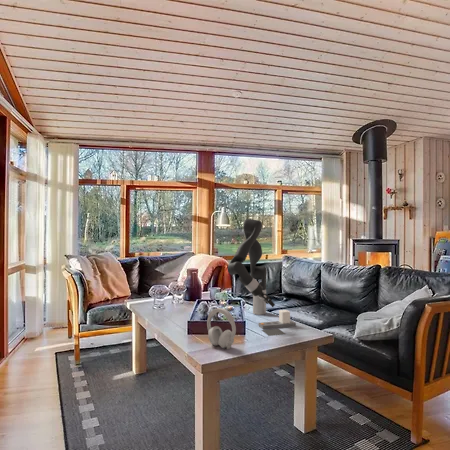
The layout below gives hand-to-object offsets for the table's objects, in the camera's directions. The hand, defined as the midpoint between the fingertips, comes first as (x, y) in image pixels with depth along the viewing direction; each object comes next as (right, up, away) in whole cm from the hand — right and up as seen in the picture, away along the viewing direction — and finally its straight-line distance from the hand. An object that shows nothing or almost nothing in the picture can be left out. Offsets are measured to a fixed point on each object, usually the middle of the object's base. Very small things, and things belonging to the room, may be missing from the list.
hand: (271, 304), depth 223 cm
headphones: (-30, -15, -34) cm, 48 cm away
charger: (+9, -14, +3) cm, 17 cm away
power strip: (+4, -14, +1) cm, 15 cm away
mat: (0, -15, -11) cm, 18 cm away
